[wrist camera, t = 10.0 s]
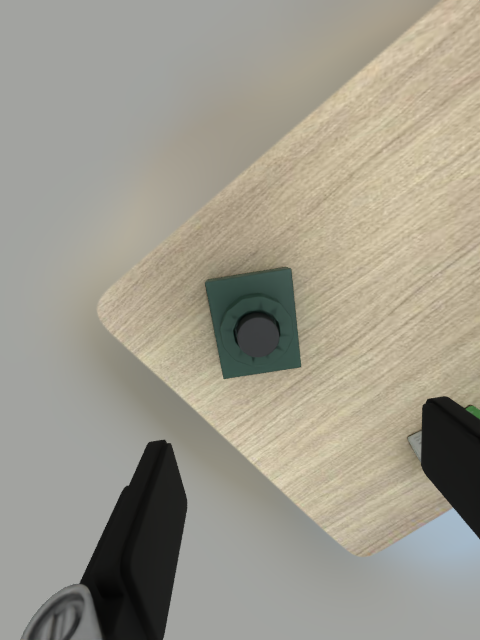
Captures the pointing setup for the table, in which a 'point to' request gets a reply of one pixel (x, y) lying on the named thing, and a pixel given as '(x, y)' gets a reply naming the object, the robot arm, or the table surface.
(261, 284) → the box
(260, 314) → the button
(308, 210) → the table surface
